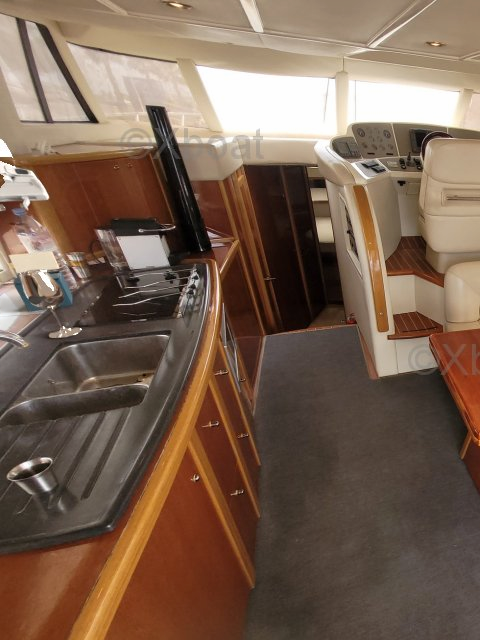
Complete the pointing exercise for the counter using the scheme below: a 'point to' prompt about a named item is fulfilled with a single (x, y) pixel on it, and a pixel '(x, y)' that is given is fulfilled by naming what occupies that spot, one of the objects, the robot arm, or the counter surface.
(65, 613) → the counter surface
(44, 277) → the wineglass
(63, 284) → the tote
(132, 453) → the counter surface
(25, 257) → the flap
